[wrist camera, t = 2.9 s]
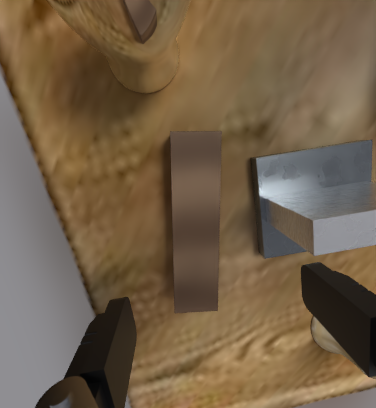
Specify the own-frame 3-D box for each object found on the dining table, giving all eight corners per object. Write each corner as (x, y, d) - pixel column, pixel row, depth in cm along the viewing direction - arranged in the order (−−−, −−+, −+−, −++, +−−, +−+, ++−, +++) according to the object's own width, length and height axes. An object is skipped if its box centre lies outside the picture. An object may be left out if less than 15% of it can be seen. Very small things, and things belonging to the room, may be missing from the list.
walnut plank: (170, 135, 21) (170, 131, 18) (212, 135, 22) (221, 131, 18) (174, 288, 25) (174, 313, 21) (210, 286, 25) (217, 310, 21)
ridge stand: (250, 157, 22) (303, 160, 13) (359, 140, 23) (479, 132, 14) (259, 252, 24) (308, 307, 16) (357, 235, 25) (460, 279, 16)
